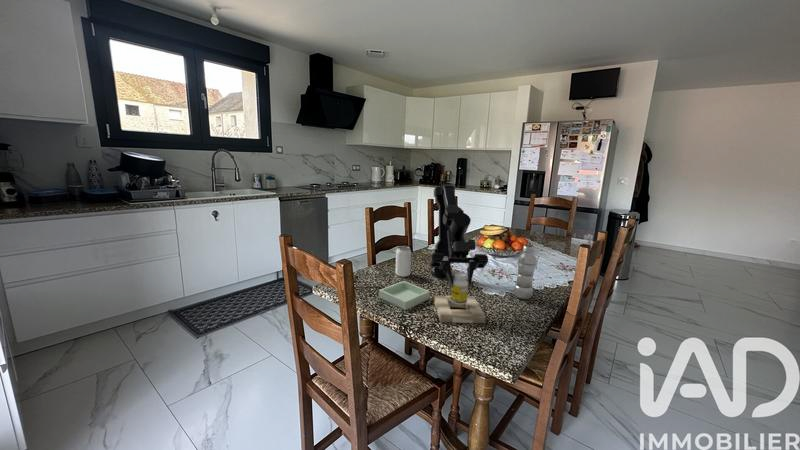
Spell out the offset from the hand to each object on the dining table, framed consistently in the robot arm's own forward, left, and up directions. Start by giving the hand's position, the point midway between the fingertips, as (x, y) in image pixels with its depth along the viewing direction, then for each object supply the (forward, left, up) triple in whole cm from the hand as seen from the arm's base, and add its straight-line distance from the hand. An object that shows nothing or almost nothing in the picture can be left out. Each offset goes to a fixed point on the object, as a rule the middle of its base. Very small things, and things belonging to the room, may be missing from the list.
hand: (460, 284), depth 101 cm
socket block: (-1, -1, -10) cm, 10 cm away
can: (-12, -37, -11) cm, 40 cm away
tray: (+5, -20, -10) cm, 23 cm away
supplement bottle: (-1, -1, -7) cm, 7 cm away
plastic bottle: (-29, +9, -11) cm, 32 cm away
